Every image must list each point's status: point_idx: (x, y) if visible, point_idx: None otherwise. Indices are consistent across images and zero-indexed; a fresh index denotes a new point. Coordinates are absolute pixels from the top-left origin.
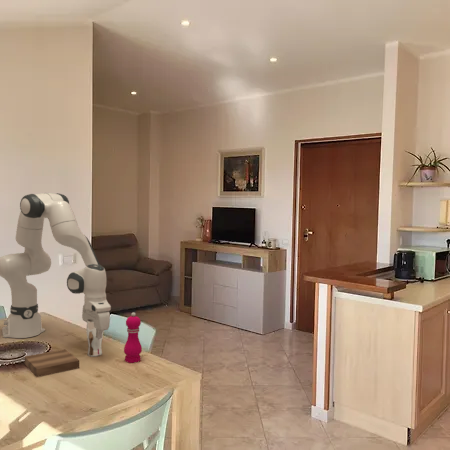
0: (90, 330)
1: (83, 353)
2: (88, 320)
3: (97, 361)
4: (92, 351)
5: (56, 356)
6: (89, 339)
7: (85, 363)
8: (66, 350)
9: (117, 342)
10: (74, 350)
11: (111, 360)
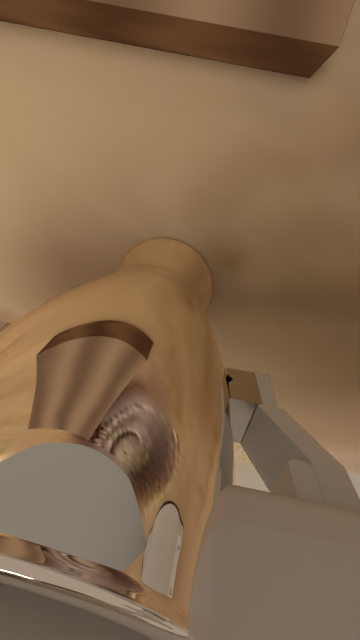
0: (7, 328)
1: (239, 246)
2: (190, 585)
3: (38, 224)
4: (126, 260)
5: None
6: (110, 275)
7: (40, 130)
8: (280, 34)
9: (244, 459)
10: (351, 234)
11: (15, 294)
